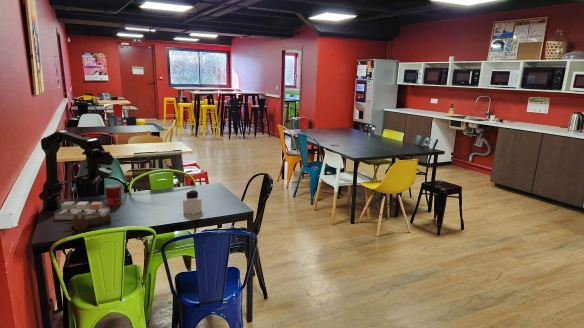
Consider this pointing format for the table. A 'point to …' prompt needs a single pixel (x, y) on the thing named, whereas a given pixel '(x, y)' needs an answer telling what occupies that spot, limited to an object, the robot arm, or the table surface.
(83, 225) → the kendama
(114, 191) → the canned food
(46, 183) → the robot arm
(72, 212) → the keypad base
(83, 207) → the key white
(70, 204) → the key sage
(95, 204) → the key terracotta
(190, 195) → the medicine bottle
